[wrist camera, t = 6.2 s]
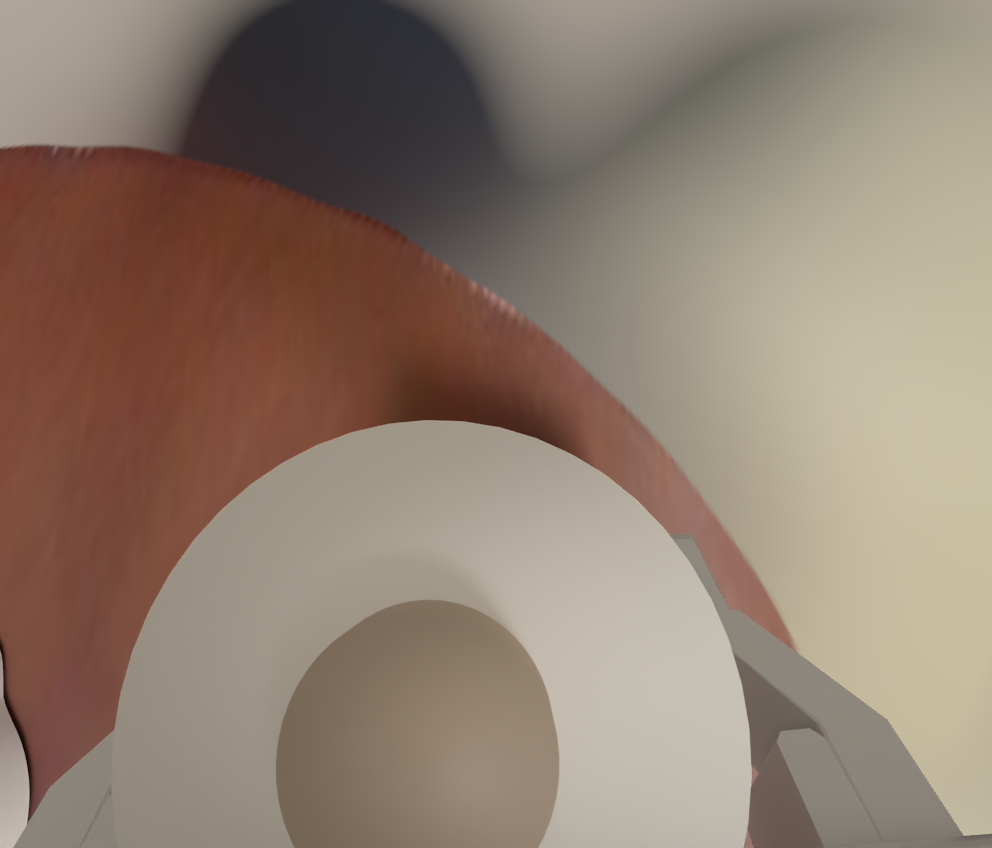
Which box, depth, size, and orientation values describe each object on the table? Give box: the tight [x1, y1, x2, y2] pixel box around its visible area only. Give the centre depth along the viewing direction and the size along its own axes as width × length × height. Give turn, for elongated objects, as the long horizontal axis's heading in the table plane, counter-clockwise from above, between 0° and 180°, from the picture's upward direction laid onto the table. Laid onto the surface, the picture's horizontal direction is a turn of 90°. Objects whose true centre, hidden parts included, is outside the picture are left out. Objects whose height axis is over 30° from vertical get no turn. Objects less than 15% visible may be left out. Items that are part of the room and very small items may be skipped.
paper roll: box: [111, 420, 752, 848], centre depth 10 cm, size 5×5×12 cm
